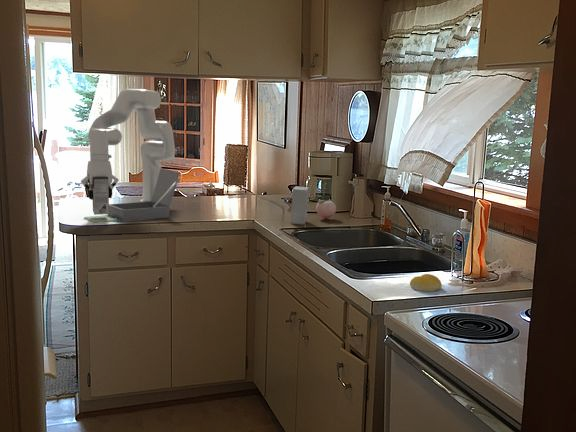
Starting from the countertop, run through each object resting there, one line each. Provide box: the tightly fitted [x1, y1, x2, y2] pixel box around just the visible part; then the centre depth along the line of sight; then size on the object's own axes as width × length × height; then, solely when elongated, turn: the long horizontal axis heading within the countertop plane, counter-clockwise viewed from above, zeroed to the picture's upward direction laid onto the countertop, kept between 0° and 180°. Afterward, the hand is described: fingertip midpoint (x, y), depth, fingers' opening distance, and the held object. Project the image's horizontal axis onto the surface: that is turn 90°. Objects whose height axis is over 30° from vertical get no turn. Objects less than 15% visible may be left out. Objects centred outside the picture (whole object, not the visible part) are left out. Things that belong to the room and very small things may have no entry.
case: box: [106, 168, 181, 223], centre depth 287 cm, size 20×27×20 cm
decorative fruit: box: [315, 197, 337, 220], centre depth 292 cm, size 9×8×10 cm
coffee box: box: [92, 177, 110, 216], centre depth 276 cm, size 9×6×16 cm
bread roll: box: [409, 273, 443, 293], centre depth 186 cm, size 8×9×4 cm
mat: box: [83, 214, 119, 224], centre depth 277 cm, size 13×10×1 cm
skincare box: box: [290, 185, 310, 225], centre depth 282 cm, size 8×7×16 cm
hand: (100, 198), depth 276 cm, fingers closed on coffee box, 7 cm apart
